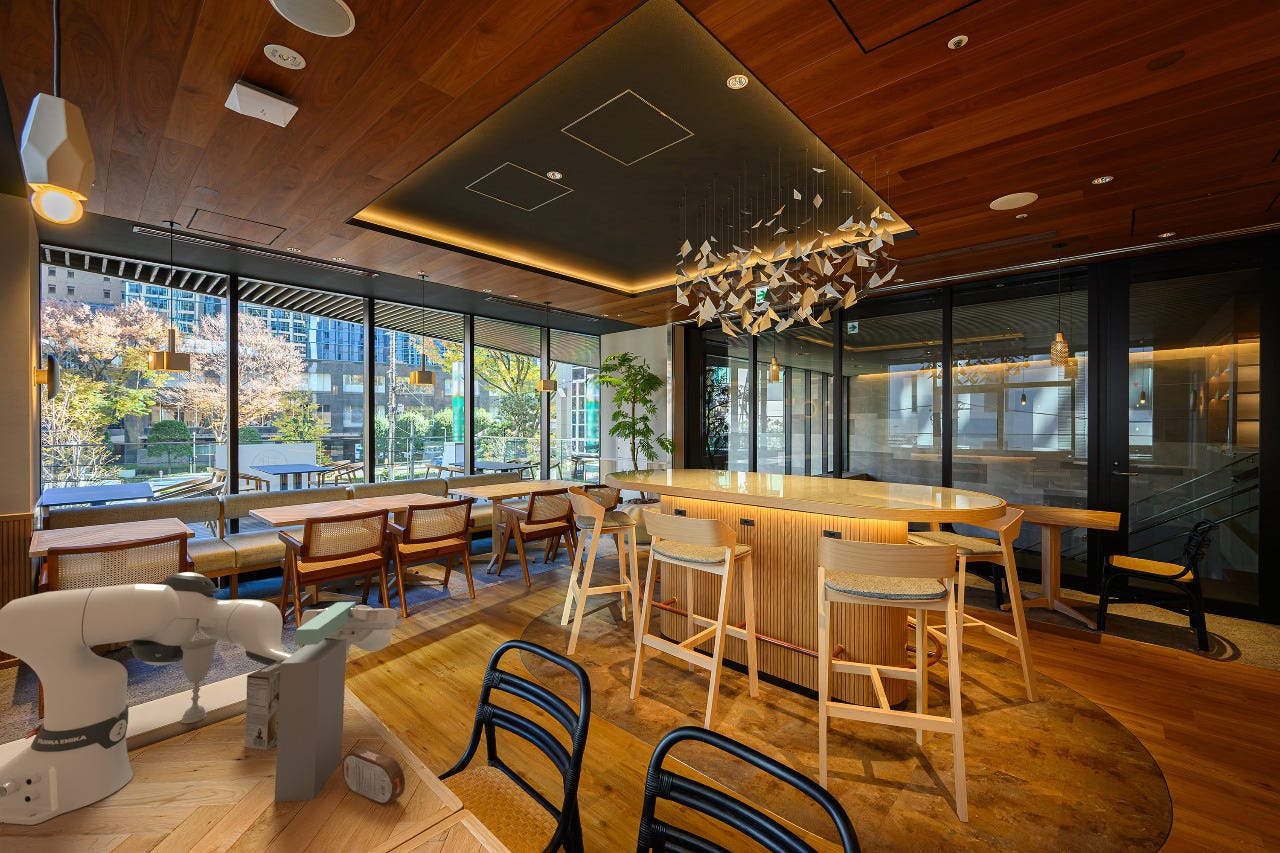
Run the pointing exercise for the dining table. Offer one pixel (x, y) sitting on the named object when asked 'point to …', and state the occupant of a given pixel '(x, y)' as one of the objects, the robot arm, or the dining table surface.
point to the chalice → (197, 672)
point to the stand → (310, 719)
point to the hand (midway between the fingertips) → (339, 612)
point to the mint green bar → (324, 624)
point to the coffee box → (262, 707)
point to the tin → (373, 775)
